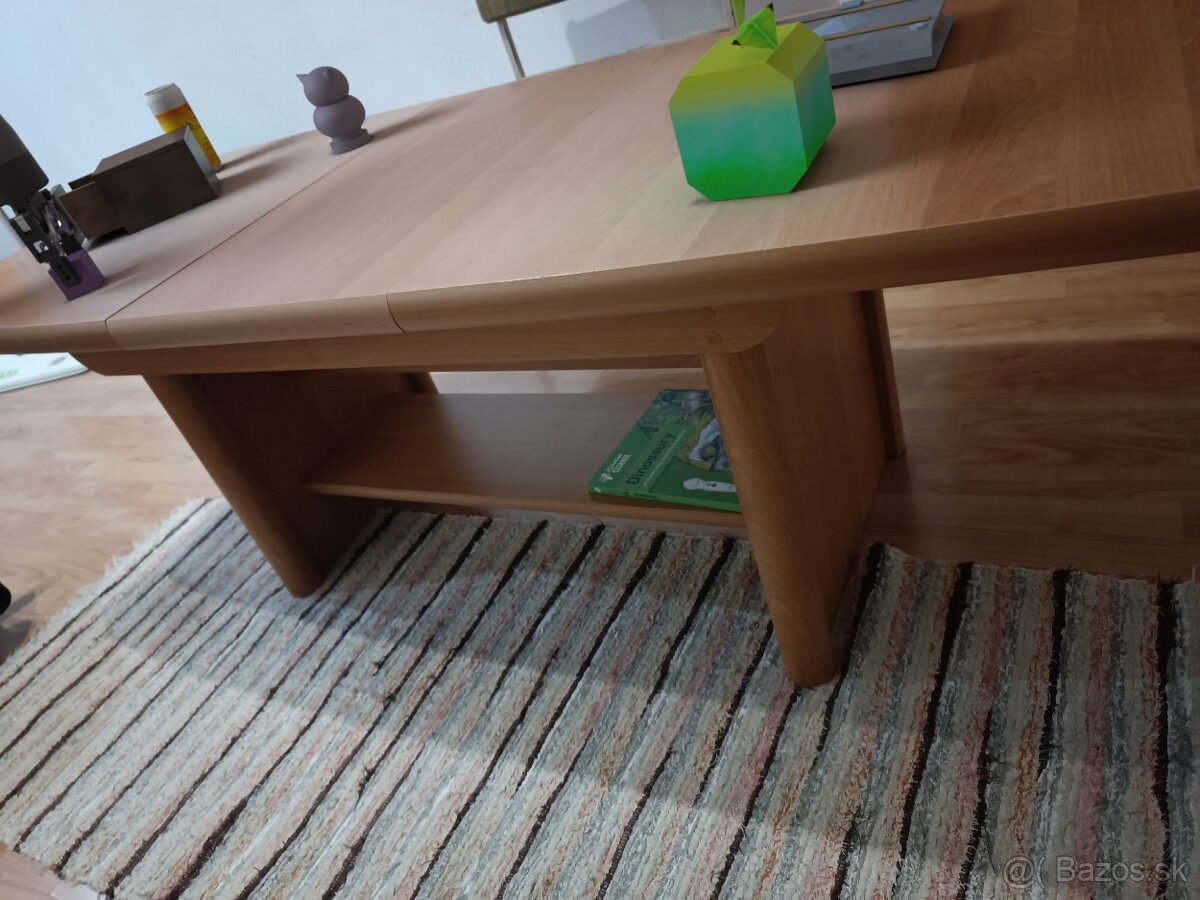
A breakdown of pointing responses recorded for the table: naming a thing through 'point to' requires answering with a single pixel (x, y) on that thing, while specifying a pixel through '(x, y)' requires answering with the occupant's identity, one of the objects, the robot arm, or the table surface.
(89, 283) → the block
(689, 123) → the apple
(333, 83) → the cat figurine
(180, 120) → the beer can
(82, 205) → the drawer
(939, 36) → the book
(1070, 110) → the table surface
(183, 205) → the cabinet
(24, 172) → the robot arm
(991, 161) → the table surface
